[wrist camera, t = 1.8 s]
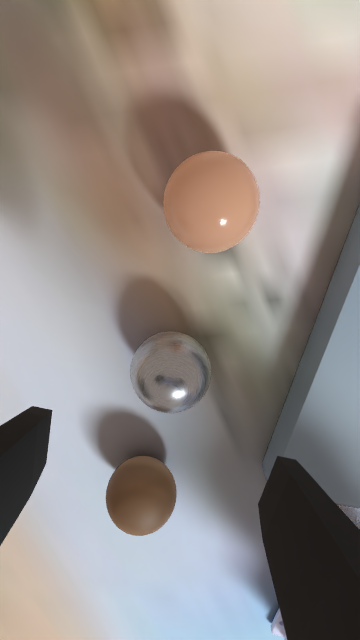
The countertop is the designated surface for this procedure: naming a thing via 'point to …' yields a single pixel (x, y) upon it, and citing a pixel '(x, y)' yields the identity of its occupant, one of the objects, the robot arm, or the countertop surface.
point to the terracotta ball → (211, 201)
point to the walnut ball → (141, 495)
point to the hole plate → (328, 389)
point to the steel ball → (170, 372)
